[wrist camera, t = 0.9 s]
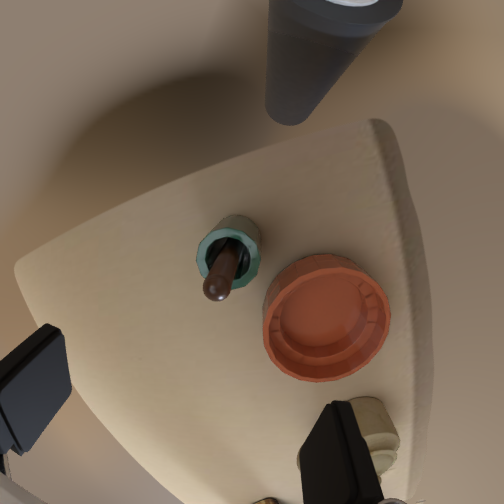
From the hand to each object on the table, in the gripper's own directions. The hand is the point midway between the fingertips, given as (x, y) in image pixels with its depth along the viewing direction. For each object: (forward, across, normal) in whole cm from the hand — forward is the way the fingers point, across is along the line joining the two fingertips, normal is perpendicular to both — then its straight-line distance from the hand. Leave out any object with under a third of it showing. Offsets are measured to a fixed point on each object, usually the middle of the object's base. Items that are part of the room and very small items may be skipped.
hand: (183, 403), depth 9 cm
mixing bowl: (+26, -12, +6) cm, 29 cm away
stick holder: (+26, 0, 0) cm, 26 cm away
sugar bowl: (+26, -23, +26) cm, 44 cm away
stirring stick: (+25, 0, 0) cm, 25 cm away
